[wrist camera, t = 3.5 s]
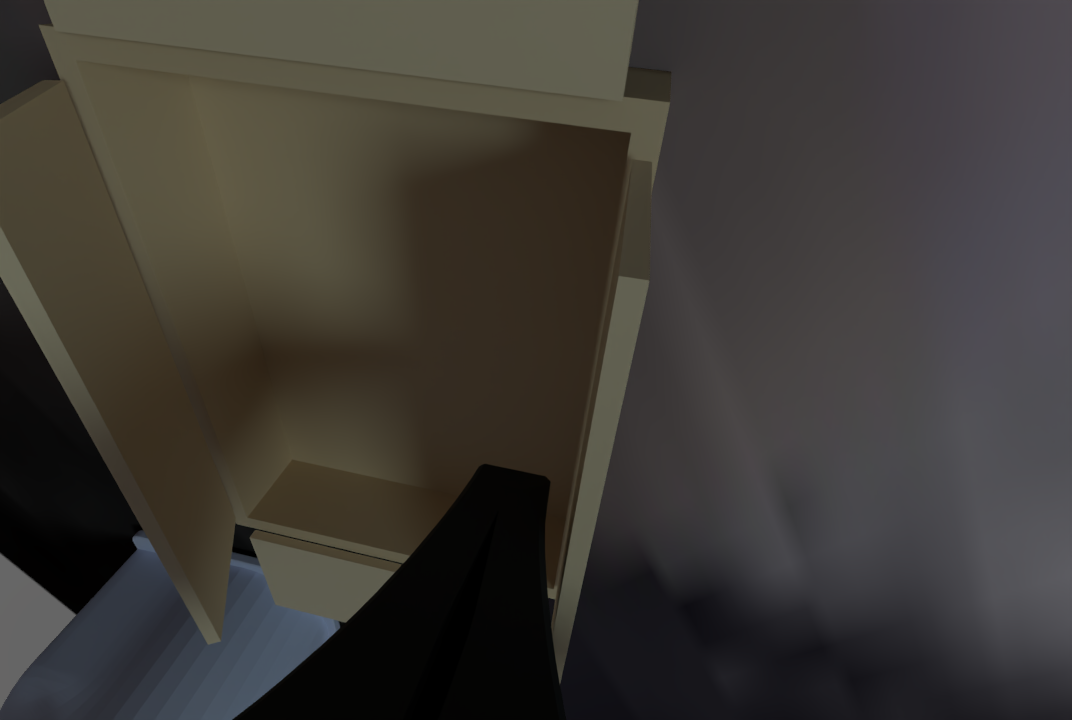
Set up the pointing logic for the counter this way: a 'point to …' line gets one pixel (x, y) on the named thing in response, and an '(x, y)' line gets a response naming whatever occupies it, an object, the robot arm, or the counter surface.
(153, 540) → the flap far
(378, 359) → the carton
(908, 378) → the counter surface
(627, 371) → the flap near
